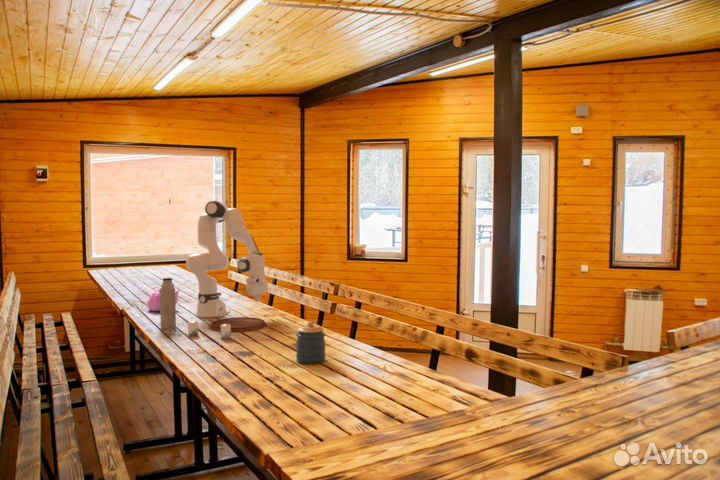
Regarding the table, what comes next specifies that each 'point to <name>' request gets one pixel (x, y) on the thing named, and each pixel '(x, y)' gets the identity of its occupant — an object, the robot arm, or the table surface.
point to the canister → (310, 344)
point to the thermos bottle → (167, 304)
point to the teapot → (158, 301)
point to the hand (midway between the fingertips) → (257, 301)
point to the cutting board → (239, 324)
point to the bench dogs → (194, 330)
